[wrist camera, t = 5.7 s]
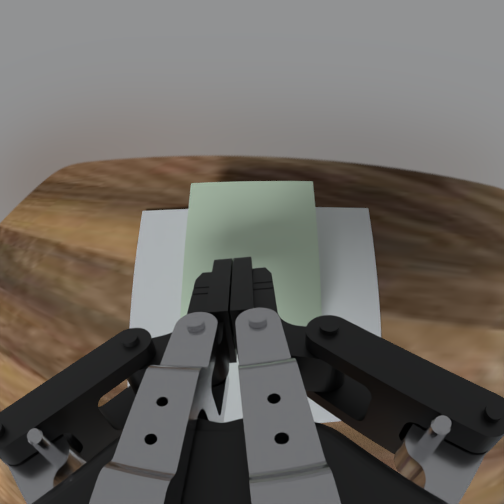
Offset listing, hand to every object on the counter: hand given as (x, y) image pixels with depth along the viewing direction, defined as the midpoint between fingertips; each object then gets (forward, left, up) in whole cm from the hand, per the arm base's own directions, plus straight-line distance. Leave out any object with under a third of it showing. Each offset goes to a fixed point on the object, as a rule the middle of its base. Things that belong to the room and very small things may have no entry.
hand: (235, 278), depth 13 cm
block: (0, -3, -5) cm, 5 cm away
